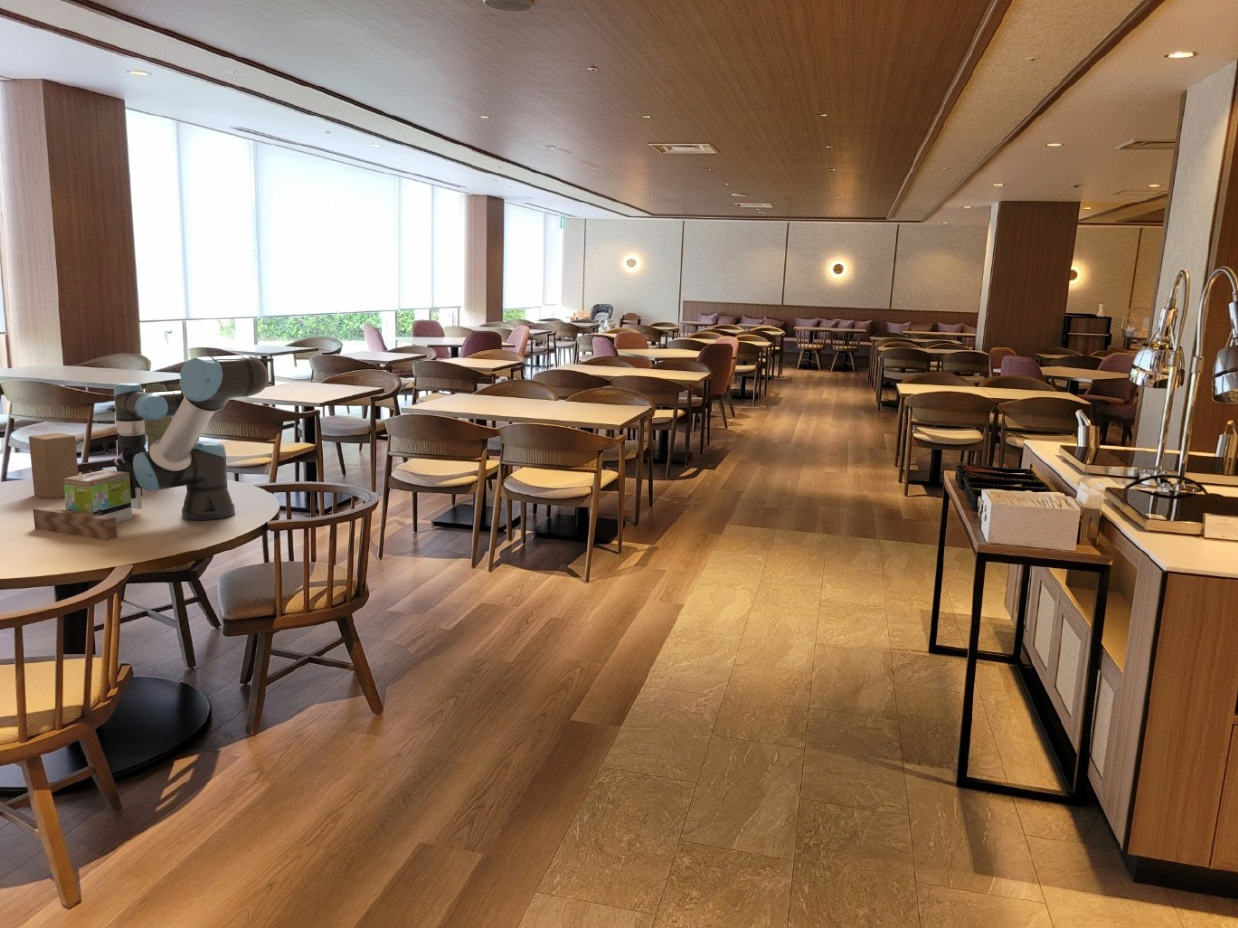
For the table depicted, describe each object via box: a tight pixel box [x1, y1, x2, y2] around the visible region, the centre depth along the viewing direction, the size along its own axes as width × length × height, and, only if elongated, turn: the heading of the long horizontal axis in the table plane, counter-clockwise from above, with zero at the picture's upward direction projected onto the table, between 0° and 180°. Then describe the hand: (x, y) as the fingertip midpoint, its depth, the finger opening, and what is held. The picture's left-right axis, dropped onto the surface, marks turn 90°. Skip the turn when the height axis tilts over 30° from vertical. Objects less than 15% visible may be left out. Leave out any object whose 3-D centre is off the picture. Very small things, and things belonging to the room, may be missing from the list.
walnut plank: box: [32, 506, 118, 541], centre depth 257 cm, size 28×3×6 cm, turn 70°
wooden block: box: [28, 432, 79, 500], centre depth 300 cm, size 10×10×20 cm
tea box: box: [64, 469, 133, 523], centre depth 268 cm, size 15×10×15 cm
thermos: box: [144, 383, 173, 451], centre depth 323 cm, size 9×12×35 cm
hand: (136, 507), depth 281 cm, fingers closed
